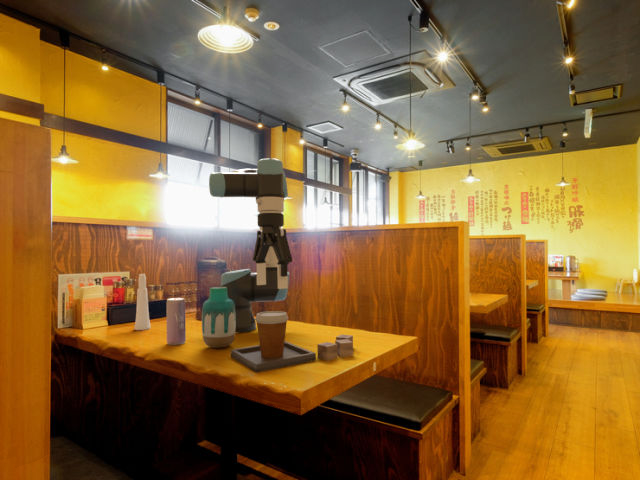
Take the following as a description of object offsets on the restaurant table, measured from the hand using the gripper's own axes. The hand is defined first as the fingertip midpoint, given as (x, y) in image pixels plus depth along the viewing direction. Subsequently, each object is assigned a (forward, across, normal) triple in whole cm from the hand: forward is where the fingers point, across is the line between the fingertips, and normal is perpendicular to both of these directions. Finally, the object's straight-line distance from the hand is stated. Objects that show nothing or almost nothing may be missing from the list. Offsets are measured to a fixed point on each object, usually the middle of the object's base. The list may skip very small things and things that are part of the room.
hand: (271, 286), depth 112 cm
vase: (+21, -22, -8) cm, 31 cm away
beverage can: (+21, -36, -18) cm, 45 cm away
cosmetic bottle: (+21, -70, -23) cm, 77 cm away
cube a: (+21, +9, +13) cm, 26 cm away
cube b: (+21, +9, +19) cm, 29 cm away
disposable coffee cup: (+20, 0, 0) cm, 20 cm away
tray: (+20, 0, 0) cm, 21 cm away
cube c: (+21, +4, +23) cm, 31 cm away
